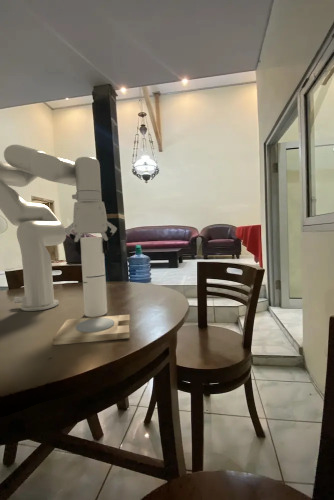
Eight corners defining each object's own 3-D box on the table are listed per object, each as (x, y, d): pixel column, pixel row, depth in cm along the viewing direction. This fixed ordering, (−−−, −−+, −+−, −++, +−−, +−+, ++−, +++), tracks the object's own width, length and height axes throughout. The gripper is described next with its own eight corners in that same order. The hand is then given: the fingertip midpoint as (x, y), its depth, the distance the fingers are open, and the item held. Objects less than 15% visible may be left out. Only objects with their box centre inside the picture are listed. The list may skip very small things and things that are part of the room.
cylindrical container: (101, 317, 81) (96, 237, 79) (80, 316, 83) (75, 237, 81) (110, 310, 88) (106, 236, 86) (91, 309, 90) (87, 237, 88)
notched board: (52, 345, 62) (52, 337, 62) (67, 324, 76) (66, 318, 75) (129, 338, 64) (129, 330, 64) (129, 319, 78) (129, 313, 78)
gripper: (57, 197, 78) (61, 256, 79) (116, 195, 80) (119, 253, 81) (64, 200, 85) (67, 254, 87) (117, 199, 88) (120, 251, 89)
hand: (92, 253), depth 84 cm, fingers closed on cylindrical container, 7 cm apart
